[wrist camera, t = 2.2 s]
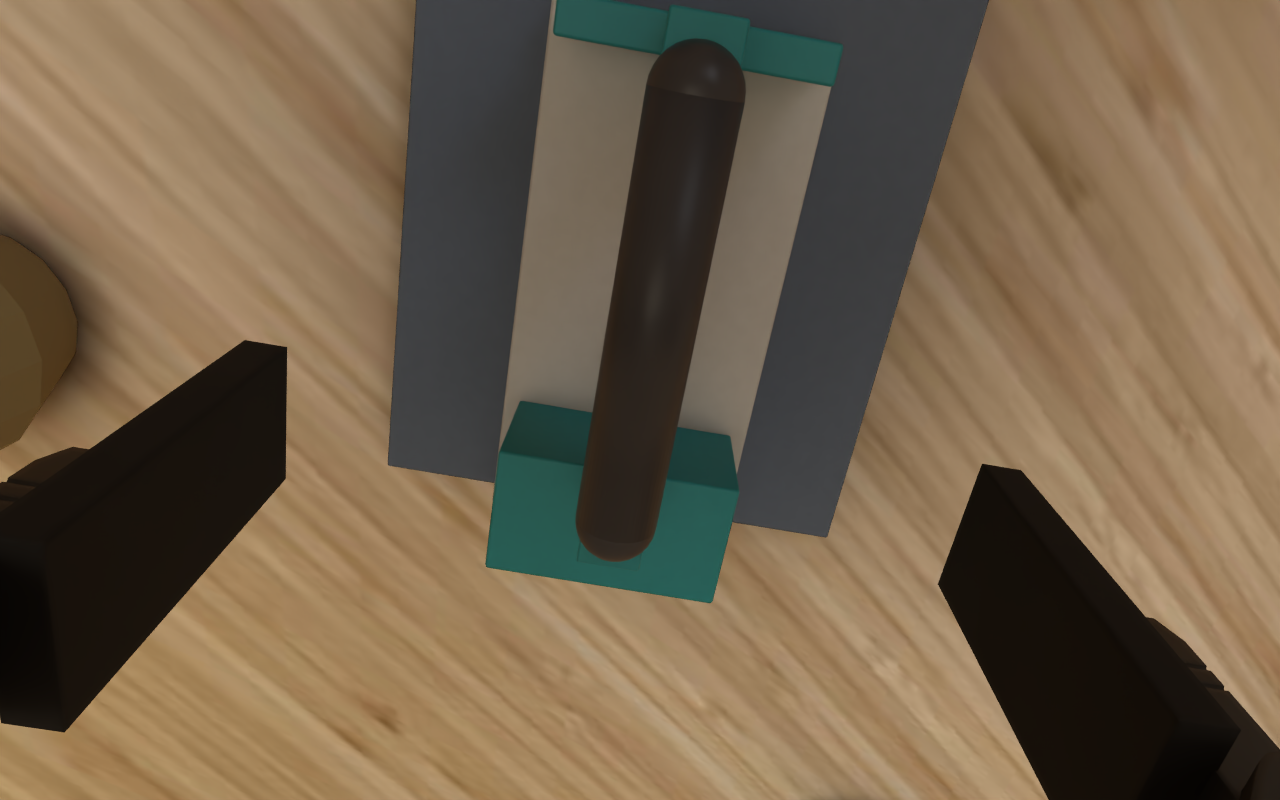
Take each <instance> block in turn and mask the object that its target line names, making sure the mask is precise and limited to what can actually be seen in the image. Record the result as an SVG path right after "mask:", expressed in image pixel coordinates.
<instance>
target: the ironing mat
mask: <svg viewBox="0 0 1280 800" xmlns="http://www.w3.org/2000/svg"><path fill="white" fill-rule="evenodd" d="M613 1H618V2H623V3H629V4H634V5H639V6H645V7H650V8H655V9H660V10H666V11H669V7H670V5H673V4H674V5H679V6H684V7H690V8H695V9H700V10H706V11H711V12H716V13H722V14H727V15H732V16H738V17H743V18H748V19H749V20H750V26H751V27H756V28H762V29H767V30H772V31H777V32H783V33H788V34H793V35H799V36H804V37H809V38H815V39H820V40H825V41H831V42H836V43H841V44H842V45H843V52H842V56H841V60H840V64H839V68H838V72H837V76H836V80H835V84H834V85H833V86H831V91H830V95H829V99H828V103H827V107H826V111H825V115H824V119H823V123H822V127H821V131H820V136H819V140H818V144H817V148H816V152H815V156H814V160H813V164H812V168H811V172H810V176H809V181H808V185H807V189H806V193H805V197H804V201H803V205H802V209H801V213H800V217H799V221H798V225H797V230H796V234H795V238H794V242H793V246H792V250H791V254H790V258H789V262H788V266H787V270H786V275H785V279H784V283H783V287H782V291H781V295H780V299H779V303H778V307H777V311H776V315H775V320H774V324H773V328H772V332H771V336H770V340H769V344H768V348H767V352H766V356H765V360H764V365H763V369H762V373H761V377H760V381H759V385H758V389H757V393H756V397H755V401H754V405H753V410H752V414H751V418H750V422H749V426H748V430H747V434H746V438H745V442H744V446H743V450H742V455H741V459H740V463H739V467H738V471H737V480H738V486H739V492H740V493H739V497H738V501H737V505H736V509H735V513H734V517H733V521H732V522H735V523H741V524H747V525H753V526H759V527H766V528H772V529H778V530H784V531H790V532H796V533H802V534H808V535H814V536H820V537H827V536H828V532H829V529H830V526H831V522H832V519H833V516H834V512H835V509H836V506H837V502H838V499H839V496H840V492H841V489H842V486H843V483H844V479H845V476H846V473H847V469H848V466H849V463H850V459H851V456H852V453H853V449H854V446H855V443H856V439H857V436H858V433H859V430H860V426H861V423H862V420H863V416H864V413H865V410H866V406H867V403H868V400H869V396H870V393H871V390H872V386H873V383H874V380H875V376H876V373H877V370H878V367H879V363H880V360H881V357H882V353H883V350H884V347H885V343H886V340H887V337H888V333H889V330H890V327H891V323H892V320H893V317H894V313H895V310H896V307H897V304H898V300H899V297H900V294H901V290H902V287H903V284H904V280H905V277H906V274H907V270H908V267H909V264H910V260H911V257H912V254H913V251H914V247H915V244H916V241H917V237H918V234H919V231H920V227H921V224H922V221H923V217H924V214H925V211H926V207H927V204H928V201H929V197H930V194H931V191H932V188H933V184H934V181H935V178H936V174H937V171H938V168H939V164H940V161H941V158H942V154H943V151H944V148H945V144H946V141H947V138H948V134H949V131H950V128H951V125H952V121H953V118H954V115H955V111H956V108H957V105H958V101H959V98H960V95H961V91H962V88H963V85H964V81H965V78H966V75H967V72H968V68H969V65H970V62H971V58H972V55H973V52H974V48H975V45H976V42H977V38H978V35H979V32H980V28H981V25H982V22H983V18H984V15H985V12H986V9H987V5H988V2H989V0H613ZM551 2H552V0H416V13H415V30H414V46H413V62H412V78H411V95H410V111H409V127H408V143H407V160H406V176H405V192H404V208H403V225H402V241H401V257H400V273H399V290H398V306H397V322H396V338H395V355H394V371H393V387H392V403H391V420H390V436H389V452H388V465H389V466H395V467H401V468H407V469H413V470H419V471H425V472H431V473H437V474H443V475H449V476H455V477H462V478H468V479H474V480H480V481H486V482H492V483H495V476H496V467H497V459H498V450H499V442H500V433H501V425H502V416H503V408H504V400H505V391H506V383H507V374H508V366H509V357H510V349H511V340H512V332H513V323H514V315H515V307H516V298H517V290H518V281H519V273H520V264H521V256H522V247H523V239H524V230H525V222H526V214H527V205H528V197H529V188H530V180H531V171H532V163H533V154H534V146H535V137H536V129H537V121H538V112H539V104H540V95H541V87H542V78H543V70H544V61H545V53H546V44H547V36H548V28H549V19H550V11H551Z"/></svg>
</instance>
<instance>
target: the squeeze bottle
mask: <svg viewBox="0 0 1280 800" xmlns="http://www.w3.org/2000/svg"><path fill="white" fill-rule="evenodd" d="M77 326H78V322H77V319H76V316H75V313H74V311H73V308H72V305H71V302H70V299H69V296H68V294H67V291H66V289H65V288H64V287H63V285H62V284H61V283H60V281H59V280H58V279H57V278H56V276H55V275H54V274H53V273H52V271H51V270H50V269H49V267H48V266H47V265H46V264H45V262H44V261H43V260H42V259H40V258H39V257H38V256H36V255H35V254H33V253H32V252H30V251H29V250H27V249H26V248H25V247H23V246H22V245H20V244H19V243H17V242H16V241H14V240H13V239H12V238H10V237H6V236H3V235H0V450H1V449H3V448H5V447H7V446H8V445H10V444H12V443H14V442H16V441H18V440H19V439H20V438H21V436H22V435H23V433H24V432H25V430H26V429H27V427H28V426H29V424H30V423H31V421H32V420H33V418H34V417H35V415H36V414H37V412H38V411H39V409H40V408H41V406H42V405H43V403H44V402H45V400H46V399H47V397H48V396H49V394H50V393H51V391H52V389H53V388H54V386H55V385H56V383H57V382H58V380H59V379H60V377H61V376H62V374H63V373H64V371H65V369H66V368H67V366H68V364H69V363H70V361H71V360H72V358H73V356H74V355H75V353H76V343H77Z"/></svg>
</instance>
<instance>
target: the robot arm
mask: <svg viewBox="0 0 1280 800" xmlns="http://www.w3.org/2000/svg"><path fill="white" fill-rule="evenodd" d="M286 394H287V347H283V346H277V345H271V344H265V343H259V342H253V341H247V340H244V341H243V342H242V343H240V344H239V345H237V346H236V347H234V348H233V349H232V350H230V351H229V352H227V353H226V354H225V355H223V356H222V357H220V358H219V359H217V360H216V361H215V362H213V363H212V364H210V365H209V366H207V367H206V368H205V369H203V370H202V371H200V372H199V373H197V374H196V375H195V376H193V377H192V378H190V379H189V380H188V381H186V382H185V383H183V384H182V385H180V386H179V387H178V388H176V389H175V390H173V391H172V392H170V393H169V394H168V395H166V396H165V397H163V398H162V399H160V400H159V401H158V402H156V403H155V404H153V405H152V406H151V407H149V408H148V409H146V410H145V411H143V412H142V413H141V414H139V415H138V416H136V417H135V418H133V419H132V420H131V421H129V422H128V423H126V424H125V425H123V426H122V427H121V428H119V429H118V430H116V431H115V432H114V433H112V434H111V435H109V436H108V437H106V438H105V439H104V440H102V441H101V442H99V443H98V444H96V445H95V446H94V447H92V448H91V449H83V448H77V447H71V448H68V449H65V450H62V451H60V452H57V453H54V454H51V455H48V456H45V457H43V458H40V459H37V460H35V461H33V462H32V463H30V464H28V465H27V466H25V467H24V468H22V469H21V470H19V471H18V472H16V473H15V474H13V475H12V476H10V477H9V478H8V480H7V482H1V483H0V719H1V723H4V724H11V725H18V726H25V727H31V728H38V729H45V730H52V731H59V732H65V731H66V730H67V729H68V728H69V727H70V726H71V724H72V723H73V722H74V721H75V720H76V719H77V718H78V716H79V715H80V714H81V713H82V712H83V711H84V709H85V708H86V707H87V706H88V705H89V704H90V703H91V701H92V700H93V699H94V698H95V697H96V696H97V695H98V693H99V692H100V691H101V690H102V689H103V688H104V687H105V685H106V684H107V683H108V682H109V681H110V680H111V679H112V677H113V676H114V675H115V674H116V673H117V672H118V671H119V669H120V668H121V667H122V666H123V665H124V664H125V662H126V661H127V660H128V659H129V658H130V657H131V656H132V654H133V653H134V652H135V651H136V650H137V649H138V648H139V646H140V645H141V644H142V643H143V642H144V641H145V640H146V638H147V637H148V636H149V635H150V634H151V633H152V632H153V630H154V629H155V628H156V627H157V626H158V625H159V623H160V622H161V621H162V620H163V619H164V618H165V617H166V615H167V614H168V613H169V612H170V611H171V610H172V609H173V607H174V606H175V605H176V604H177V603H178V602H179V601H180V599H181V598H182V597H183V596H184V595H185V594H186V593H187V591H188V590H189V589H190V588H191V587H192V586H193V584H194V583H195V582H196V581H197V580H198V579H199V578H200V576H201V575H202V574H203V573H204V572H205V571H206V570H207V568H208V567H209V566H210V565H211V564H212V563H213V562H214V560H215V559H216V558H217V557H218V556H219V555H220V554H221V552H222V551H223V550H224V549H225V548H226V547H227V546H228V544H229V543H230V542H231V541H232V540H233V539H234V537H235V536H236V535H237V534H238V533H239V532H240V531H241V529H242V528H243V527H244V526H245V525H246V524H247V523H248V521H249V520H250V519H251V518H252V517H253V516H254V515H255V513H256V512H257V511H258V510H259V509H260V508H261V507H262V505H263V504H264V503H265V502H266V501H267V500H268V498H269V497H270V496H271V495H272V494H273V493H274V492H275V490H276V489H277V488H278V487H279V486H280V485H281V484H282V482H283V481H284V480H285V479H286ZM938 585H939V587H940V589H941V591H942V593H943V595H944V597H945V599H946V601H947V603H948V605H949V606H950V608H951V610H952V612H953V614H954V616H955V618H956V620H957V622H958V624H959V626H960V628H961V630H962V632H963V634H964V636H965V638H966V640H967V642H968V644H969V645H970V647H971V649H972V651H973V653H974V655H975V657H976V659H977V661H978V663H979V665H980V667H981V669H982V671H983V673H984V675H985V677H986V679H987V681H988V682H989V684H990V686H991V688H992V690H993V692H994V694H995V696H996V698H997V700H998V702H999V704H1000V706H1001V708H1002V710H1003V712H1004V714H1005V716H1006V718H1007V719H1008V721H1009V723H1010V725H1011V727H1012V729H1013V731H1014V733H1015V735H1016V737H1017V739H1018V741H1019V743H1020V745H1021V747H1022V749H1023V751H1024V753H1025V755H1026V756H1027V758H1028V760H1029V762H1030V764H1031V766H1032V768H1033V770H1034V772H1035V774H1036V776H1037V778H1038V780H1039V782H1040V784H1041V786H1042V788H1043V790H1044V792H1045V793H1046V795H1047V797H1048V799H1049V800H1280V749H1279V748H1278V747H1277V746H1276V744H1275V743H1274V742H1273V741H1272V740H1271V739H1270V738H1269V737H1268V735H1267V734H1266V733H1265V732H1264V731H1263V730H1262V729H1261V727H1260V726H1259V725H1258V724H1257V723H1256V722H1255V721H1254V719H1253V718H1252V717H1251V716H1250V715H1249V714H1248V713H1247V712H1246V710H1245V709H1244V708H1243V707H1242V706H1241V705H1240V704H1239V702H1238V701H1237V700H1236V699H1235V698H1234V697H1233V696H1232V694H1231V693H1230V692H1229V691H1224V685H1223V684H1222V683H1221V682H1220V681H1219V680H1218V679H1217V677H1216V676H1215V675H1214V674H1213V673H1212V672H1211V671H1208V670H1206V667H1207V666H1206V665H1205V664H1204V663H1203V661H1202V660H1201V659H1200V658H1199V657H1198V656H1197V655H1196V653H1195V652H1194V651H1193V650H1192V649H1191V648H1190V647H1189V646H1188V644H1187V643H1186V642H1185V641H1183V640H1182V639H1181V638H1179V637H1178V636H1177V635H1175V634H1174V633H1173V632H1171V631H1170V630H1169V629H1167V628H1166V627H1165V626H1163V625H1162V624H1161V623H1159V622H1158V621H1157V620H1155V619H1153V618H1147V617H1145V616H1144V615H1143V613H1142V612H1141V611H1140V610H1139V609H1138V608H1137V606H1136V605H1135V604H1134V603H1133V602H1132V601H1131V599H1130V598H1129V597H1128V596H1127V595H1126V593H1125V592H1124V591H1123V590H1122V589H1121V588H1120V586H1119V585H1118V584H1117V583H1116V582H1115V580H1114V579H1113V578H1112V577H1111V576H1110V575H1109V573H1108V572H1107V571H1106V570H1105V569H1104V567H1103V566H1102V565H1101V564H1100V563H1099V562H1098V560H1097V559H1096V558H1095V557H1094V556H1093V555H1092V553H1091V552H1090V551H1089V550H1088V549H1087V547H1086V546H1085V545H1084V544H1083V543H1082V542H1081V540H1080V539H1079V538H1078V537H1077V536H1076V534H1075V533H1074V532H1073V531H1072V530H1071V529H1070V527H1069V526H1068V525H1067V524H1066V523H1065V521H1064V520H1063V519H1062V518H1061V517H1060V516H1059V514H1058V513H1057V512H1056V511H1055V510H1054V509H1053V507H1052V506H1051V505H1050V504H1049V503H1048V501H1047V500H1046V499H1045V498H1044V497H1043V496H1042V494H1041V493H1040V492H1039V491H1038V490H1037V488H1036V487H1035V486H1034V485H1033V484H1032V483H1031V481H1030V480H1029V479H1028V478H1027V477H1026V475H1025V474H1024V473H1023V472H1022V471H1021V470H1016V469H1010V468H1004V467H998V466H992V465H986V464H982V466H981V468H980V471H979V474H978V476H977V479H976V482H975V485H974V487H973V490H972V493H971V495H970V498H969V501H968V504H967V506H966V509H965V512H964V515H963V517H962V520H961V523H960V525H959V528H958V531H957V534H956V536H955V539H954V542H953V544H952V547H951V550H950V553H949V555H948V558H947V561H946V563H945V566H944V569H943V572H942V574H941V577H940V580H939V583H938Z"/></svg>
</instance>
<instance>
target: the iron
mask: <svg viewBox="0 0 1280 800" xmlns="http://www.w3.org/2000/svg"><path fill="white" fill-rule="evenodd" d="M842 52H843V45H842V44H841V43H836V42H831V41H825V40H820V39H815V38H809V37H804V36H799V35H793V34H788V33H783V32H777V31H772V30H767V29H762V28H756V27H751V26H750V20H749V19H748V18H743V17H738V16H732V15H727V14H722V13H716V12H711V11H706V10H700V9H695V8H690V7H684V6H679V5H674V4H673V5H670V7H669V11H666V10H660V9H655V8H650V7H645V6H639V5H634V4H629V3H623V2H618V1H613V0H552V2H551V11H550V19H549V28H548V36H547V44H546V53H545V61H544V70H543V78H542V87H541V95H540V104H539V112H538V121H537V129H536V137H535V146H534V154H533V163H532V171H531V180H530V188H529V197H528V205H527V214H526V222H525V230H524V239H523V247H522V256H521V264H520V273H519V281H518V290H517V298H516V307H515V315H514V323H513V332H512V340H511V349H510V357H509V366H508V374H507V383H506V391H505V400H504V408H503V416H502V425H501V433H500V442H499V450H498V459H497V467H496V476H495V484H494V493H493V504H492V513H491V521H490V530H489V538H488V547H487V555H486V563H485V564H486V567H488V568H494V569H500V570H506V571H512V572H519V573H525V574H531V575H537V576H544V577H550V578H556V579H562V580H569V581H575V582H581V583H587V584H594V585H600V586H606V587H612V588H618V589H625V590H631V591H637V592H643V593H650V594H656V595H662V596H668V597H675V598H681V599H687V600H693V601H699V602H706V603H711V602H712V601H713V598H714V594H715V590H716V586H717V582H718V578H719V573H720V569H721V565H722V561H723V557H724V553H725V549H726V545H727V541H728V537H729V533H730V529H731V525H732V521H733V517H734V513H735V509H736V505H737V501H738V497H739V493H740V492H739V486H738V480H737V471H738V467H739V463H740V459H741V455H742V450H743V446H744V442H745V438H746V434H747V430H748V426H749V422H750V418H751V414H752V410H753V405H754V401H755V397H756V393H757V389H758V385H759V381H760V377H761V373H762V369H763V365H764V360H765V356H766V352H767V348H768V344H769V340H770V336H771V332H772V328H773V324H774V320H775V315H776V311H777V307H778V303H779V299H780V295H781V291H782V287H783V283H784V279H785V275H786V270H787V266H788V262H789V258H790V254H791V250H792V246H793V242H794V238H795V234H796V230H797V225H798V221H799V217H800V213H801V209H802V205H803V201H804V197H805V193H806V189H807V185H808V181H809V176H810V172H811V168H812V164H813V160H814V156H815V152H816V148H817V144H818V140H819V136H820V131H821V127H822V123H823V119H824V115H825V111H826V107H827V103H828V99H829V95H830V91H831V86H833V85H834V84H835V80H836V76H837V72H838V68H839V64H840V60H841V56H842Z"/></svg>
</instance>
